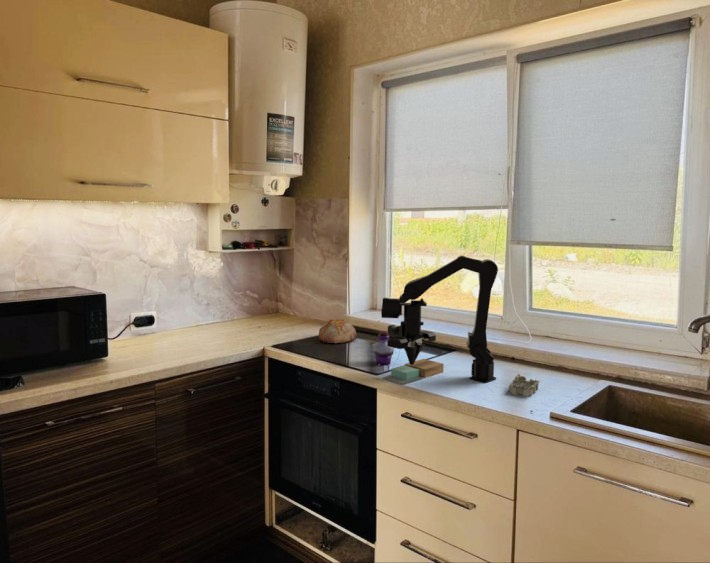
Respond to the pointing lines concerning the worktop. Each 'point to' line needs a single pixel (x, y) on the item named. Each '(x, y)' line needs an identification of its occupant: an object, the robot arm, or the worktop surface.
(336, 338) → the bread
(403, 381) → the mat
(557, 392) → the worktop surface
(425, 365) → the block
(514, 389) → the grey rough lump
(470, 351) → the robot arm
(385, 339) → the potion bottle
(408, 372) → the tile
